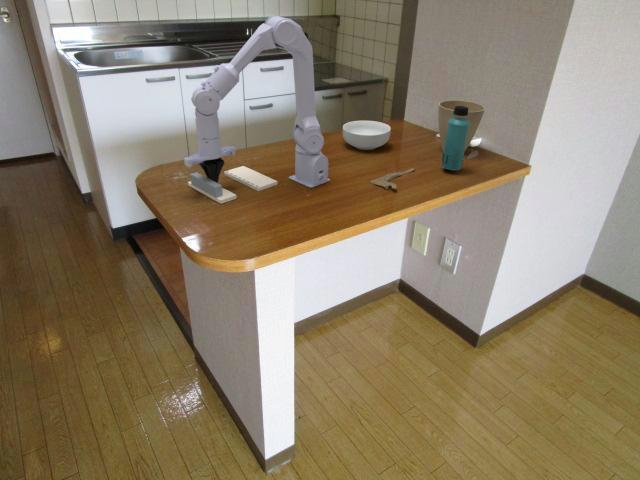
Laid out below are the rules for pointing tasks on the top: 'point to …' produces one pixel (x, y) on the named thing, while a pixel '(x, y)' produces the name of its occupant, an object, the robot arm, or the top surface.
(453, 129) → the beverage bottle
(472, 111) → the plant pot
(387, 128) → the cereal bowl
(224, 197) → the stub
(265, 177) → the ticket
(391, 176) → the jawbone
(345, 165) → the top surface
